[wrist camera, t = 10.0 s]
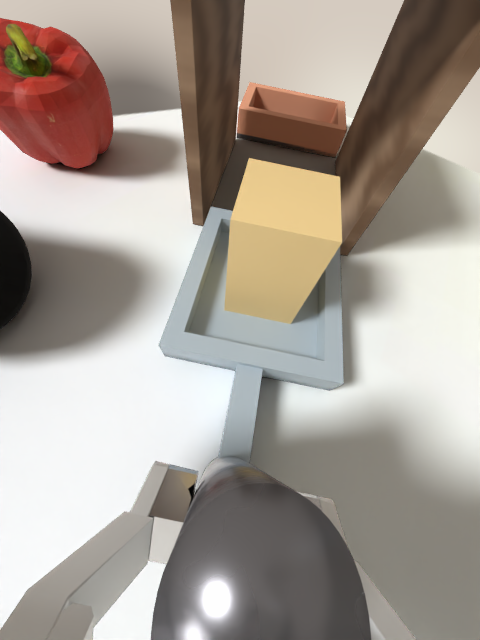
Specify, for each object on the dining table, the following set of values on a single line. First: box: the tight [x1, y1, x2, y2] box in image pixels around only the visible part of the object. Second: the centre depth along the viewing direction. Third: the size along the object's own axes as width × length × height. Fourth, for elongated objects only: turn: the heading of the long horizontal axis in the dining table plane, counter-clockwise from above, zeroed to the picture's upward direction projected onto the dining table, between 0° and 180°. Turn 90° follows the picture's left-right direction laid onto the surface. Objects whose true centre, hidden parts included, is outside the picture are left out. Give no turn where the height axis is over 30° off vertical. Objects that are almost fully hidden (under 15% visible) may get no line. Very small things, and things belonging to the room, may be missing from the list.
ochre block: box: [224, 158, 342, 324], centre depth 15 cm, size 5×5×8 cm
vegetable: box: [0, 18, 113, 168], centre depth 21 cm, size 11×10×10 cm
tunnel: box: [170, 0, 480, 256], centre depth 19 cm, size 16×15×16 cm
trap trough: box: [237, 82, 347, 158], centre depth 31 cm, size 8×13×3 cm, turn 79°
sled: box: [151, 206, 371, 640], centre depth 12 cm, size 21×11×11 cm, turn 169°
